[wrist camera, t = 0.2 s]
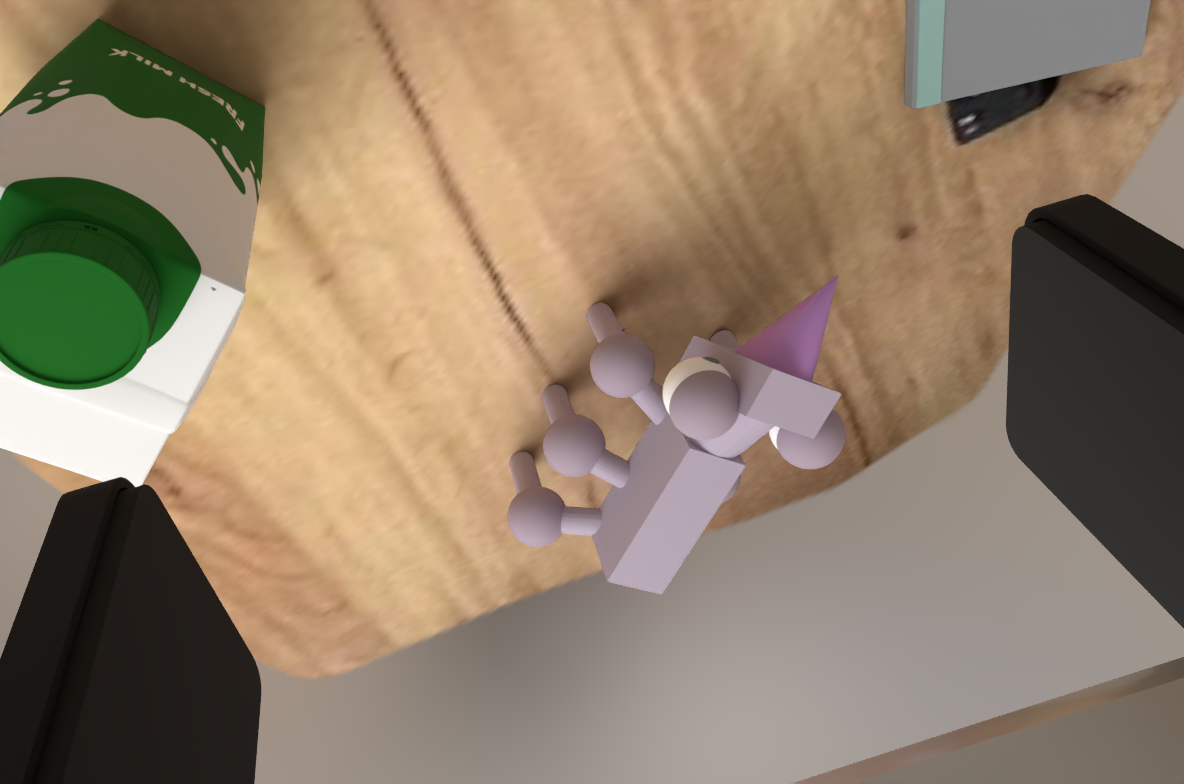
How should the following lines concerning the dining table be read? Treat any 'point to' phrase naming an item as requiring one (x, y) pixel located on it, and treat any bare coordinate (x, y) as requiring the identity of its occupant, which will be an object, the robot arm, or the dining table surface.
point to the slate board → (1012, 42)
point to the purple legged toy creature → (679, 439)
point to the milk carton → (119, 250)
